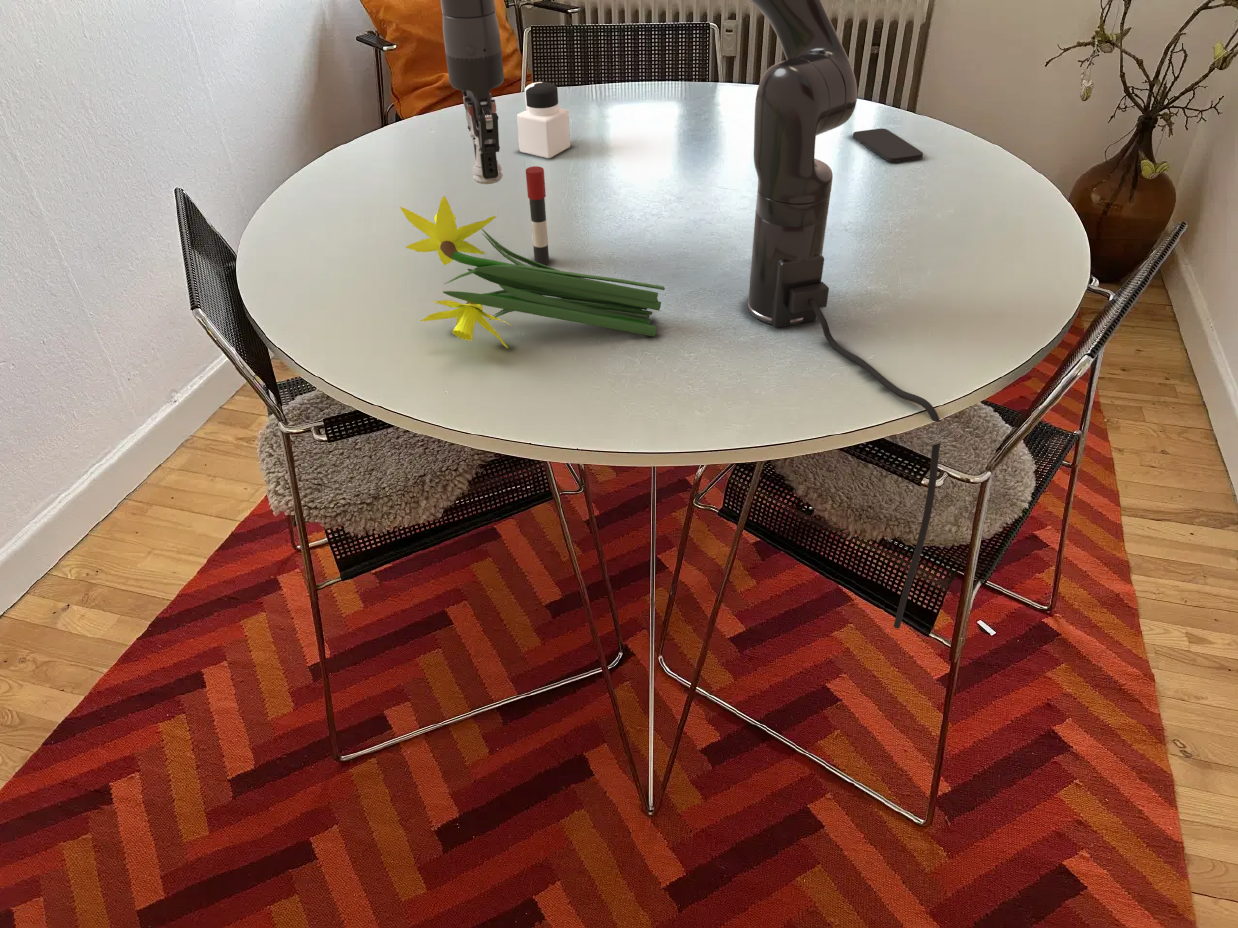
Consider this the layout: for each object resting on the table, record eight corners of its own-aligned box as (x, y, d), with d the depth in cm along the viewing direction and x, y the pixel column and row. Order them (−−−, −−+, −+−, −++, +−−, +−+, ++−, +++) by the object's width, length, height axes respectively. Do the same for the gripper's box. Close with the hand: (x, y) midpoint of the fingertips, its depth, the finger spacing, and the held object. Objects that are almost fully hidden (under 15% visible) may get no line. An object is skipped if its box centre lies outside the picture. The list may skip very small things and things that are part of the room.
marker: (552, 264, 138) (545, 171, 129) (535, 267, 138) (527, 174, 129) (548, 257, 140) (541, 165, 131) (531, 260, 140) (523, 167, 131)
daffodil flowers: (659, 375, 116) (379, 325, 109) (634, 371, 131) (385, 327, 123) (682, 242, 115) (399, 183, 107) (655, 253, 129) (404, 201, 122)
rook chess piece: (509, 178, 135) (504, 124, 130) (486, 187, 132) (480, 132, 127) (489, 170, 137) (483, 117, 132) (466, 179, 135) (459, 125, 130)
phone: (885, 127, 178) (926, 154, 167) (884, 132, 179) (925, 158, 168) (850, 132, 177) (889, 159, 166) (850, 136, 177) (889, 163, 166)
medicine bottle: (571, 147, 176) (567, 82, 168) (549, 159, 171) (545, 93, 164) (541, 140, 179) (536, 76, 171) (519, 152, 174) (513, 87, 167)
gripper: (511, 59, 119) (523, 186, 130) (489, 31, 129) (502, 151, 140) (454, 66, 117) (470, 193, 128) (437, 37, 128) (453, 157, 139)
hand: (487, 170), depth 134 cm, fingers closed on rook chess piece, 4 cm apart
